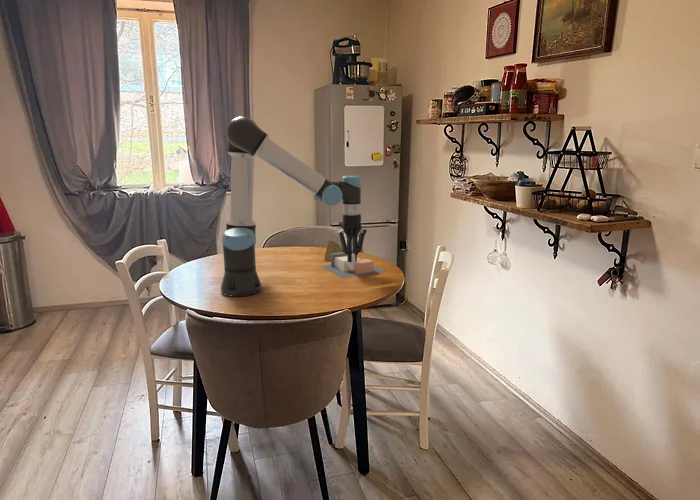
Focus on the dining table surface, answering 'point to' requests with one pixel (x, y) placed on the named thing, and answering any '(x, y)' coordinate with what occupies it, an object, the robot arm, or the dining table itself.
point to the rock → (332, 250)
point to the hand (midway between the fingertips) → (352, 269)
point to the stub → (363, 266)
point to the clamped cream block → (340, 261)
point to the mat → (349, 273)
